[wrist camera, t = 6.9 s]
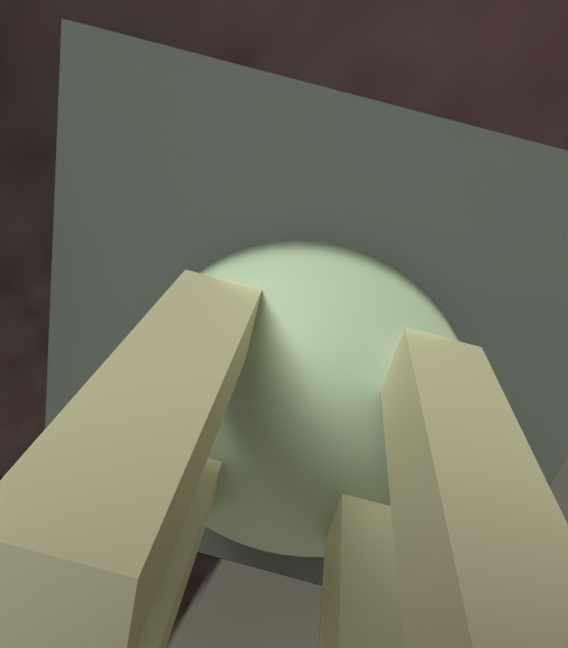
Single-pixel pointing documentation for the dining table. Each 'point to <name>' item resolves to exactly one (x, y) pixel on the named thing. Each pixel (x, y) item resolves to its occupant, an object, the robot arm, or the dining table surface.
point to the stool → (288, 467)
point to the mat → (297, 216)
